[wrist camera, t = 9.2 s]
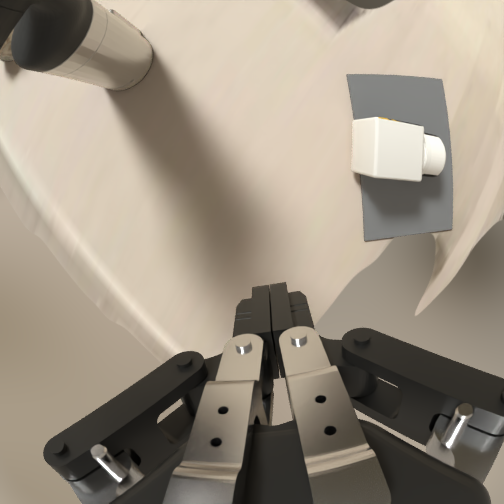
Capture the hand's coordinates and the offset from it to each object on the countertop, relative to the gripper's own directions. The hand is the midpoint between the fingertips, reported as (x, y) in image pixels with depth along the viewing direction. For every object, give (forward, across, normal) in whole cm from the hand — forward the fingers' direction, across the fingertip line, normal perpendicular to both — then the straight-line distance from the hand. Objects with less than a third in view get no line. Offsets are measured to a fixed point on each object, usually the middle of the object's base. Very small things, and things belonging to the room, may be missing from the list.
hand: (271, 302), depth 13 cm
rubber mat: (+29, -22, -3) cm, 36 cm away
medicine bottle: (+24, -13, -5) cm, 28 cm away
